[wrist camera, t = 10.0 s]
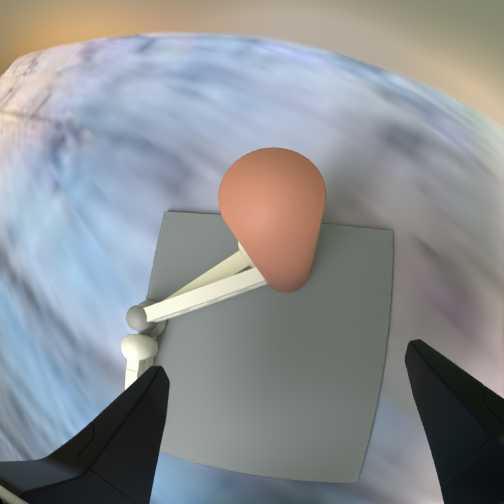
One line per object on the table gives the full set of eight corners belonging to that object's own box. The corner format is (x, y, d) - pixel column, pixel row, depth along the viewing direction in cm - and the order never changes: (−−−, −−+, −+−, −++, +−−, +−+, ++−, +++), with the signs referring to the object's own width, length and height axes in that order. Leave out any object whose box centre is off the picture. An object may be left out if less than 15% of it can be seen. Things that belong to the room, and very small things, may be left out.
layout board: (355, 480, 15) (357, 485, 14) (127, 437, 18) (122, 439, 17) (391, 224, 19) (394, 220, 18) (160, 205, 22) (155, 201, 22)
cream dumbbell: (151, 450, 18) (136, 461, 15) (131, 442, 18) (114, 452, 16) (162, 337, 20) (145, 337, 17) (141, 331, 20) (122, 331, 18)
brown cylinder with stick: (144, 342, 19) (17, 343, 8) (133, 301, 20) (9, 271, 9) (317, 282, 18) (343, 221, 8) (300, 239, 19) (300, 135, 8)
